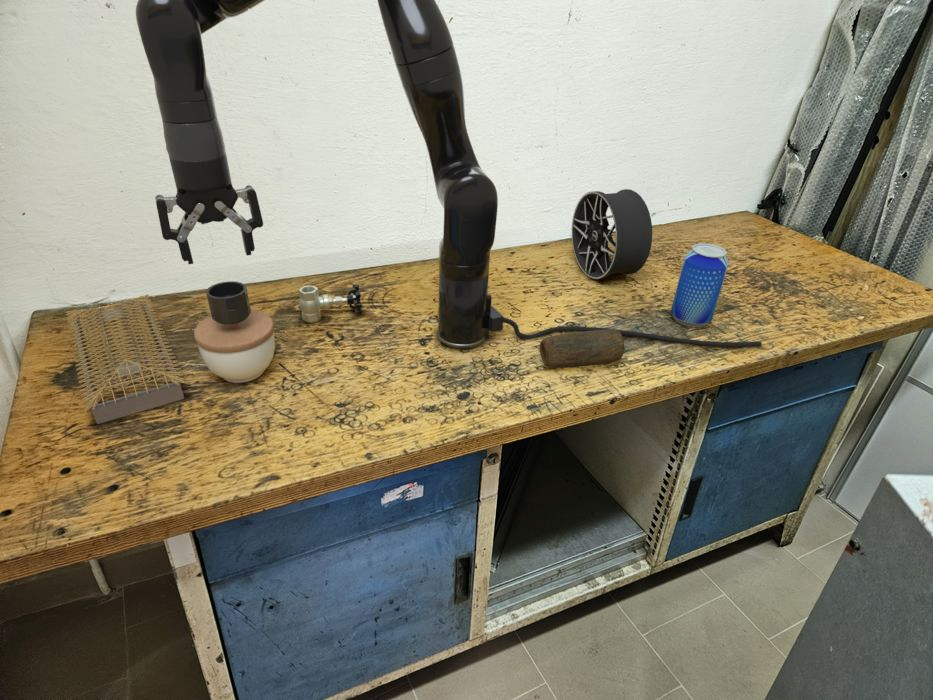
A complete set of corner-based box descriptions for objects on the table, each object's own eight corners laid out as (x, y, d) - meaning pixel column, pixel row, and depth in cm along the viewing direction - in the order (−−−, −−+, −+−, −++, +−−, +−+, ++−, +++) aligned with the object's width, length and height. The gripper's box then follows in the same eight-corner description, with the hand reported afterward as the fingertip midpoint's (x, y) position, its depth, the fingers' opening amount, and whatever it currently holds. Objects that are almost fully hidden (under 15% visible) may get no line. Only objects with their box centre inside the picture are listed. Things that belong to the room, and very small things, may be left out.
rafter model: (191, 399, 96) (183, 368, 93) (91, 429, 90) (78, 397, 86) (152, 309, 121) (144, 282, 117) (71, 327, 114) (60, 299, 110)
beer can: (712, 315, 127) (733, 246, 119) (708, 333, 121) (730, 261, 112) (672, 306, 130) (690, 238, 121) (666, 323, 124) (684, 252, 115)
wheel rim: (567, 258, 150) (577, 180, 139) (598, 254, 153) (611, 177, 142) (608, 293, 134) (624, 208, 123) (642, 288, 137) (660, 205, 126)
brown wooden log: (606, 348, 114) (612, 318, 111) (623, 368, 109) (630, 338, 105) (534, 357, 111) (537, 327, 107) (548, 378, 105) (552, 347, 101)
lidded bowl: (188, 381, 101) (173, 325, 95) (238, 345, 111) (227, 293, 105) (248, 400, 97) (236, 343, 91) (294, 361, 107) (287, 308, 101)
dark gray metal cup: (247, 305, 101) (242, 278, 98) (254, 321, 97) (249, 294, 94) (210, 311, 99) (203, 285, 96) (214, 328, 94) (208, 301, 92)
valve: (302, 327, 117) (363, 320, 120) (298, 298, 113) (360, 291, 116) (300, 311, 122) (358, 305, 125) (296, 283, 119) (356, 277, 122)
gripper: (142, 163, 78) (172, 275, 86) (254, 153, 83) (271, 259, 92) (140, 150, 83) (168, 256, 92) (245, 141, 89) (262, 242, 98)
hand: (220, 257), depth 92 cm, fingers open, 8 cm apart
